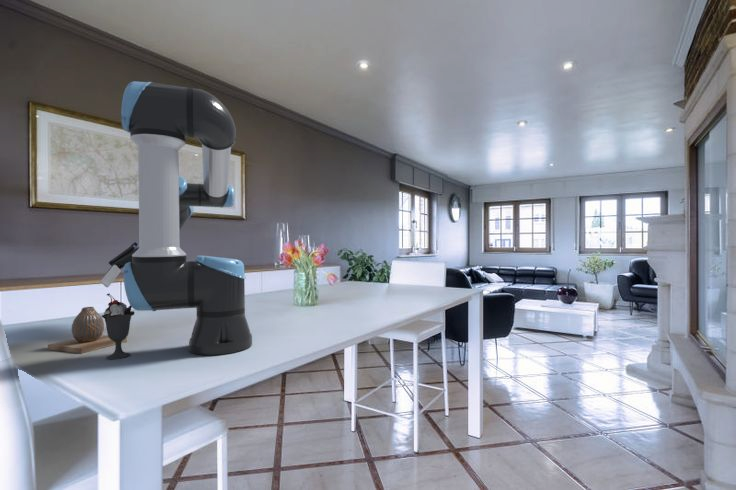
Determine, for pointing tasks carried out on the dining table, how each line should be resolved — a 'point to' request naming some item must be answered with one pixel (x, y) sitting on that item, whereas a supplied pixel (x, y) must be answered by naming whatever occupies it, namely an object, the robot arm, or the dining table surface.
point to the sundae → (117, 325)
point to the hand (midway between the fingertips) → (123, 285)
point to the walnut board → (82, 345)
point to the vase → (87, 325)
